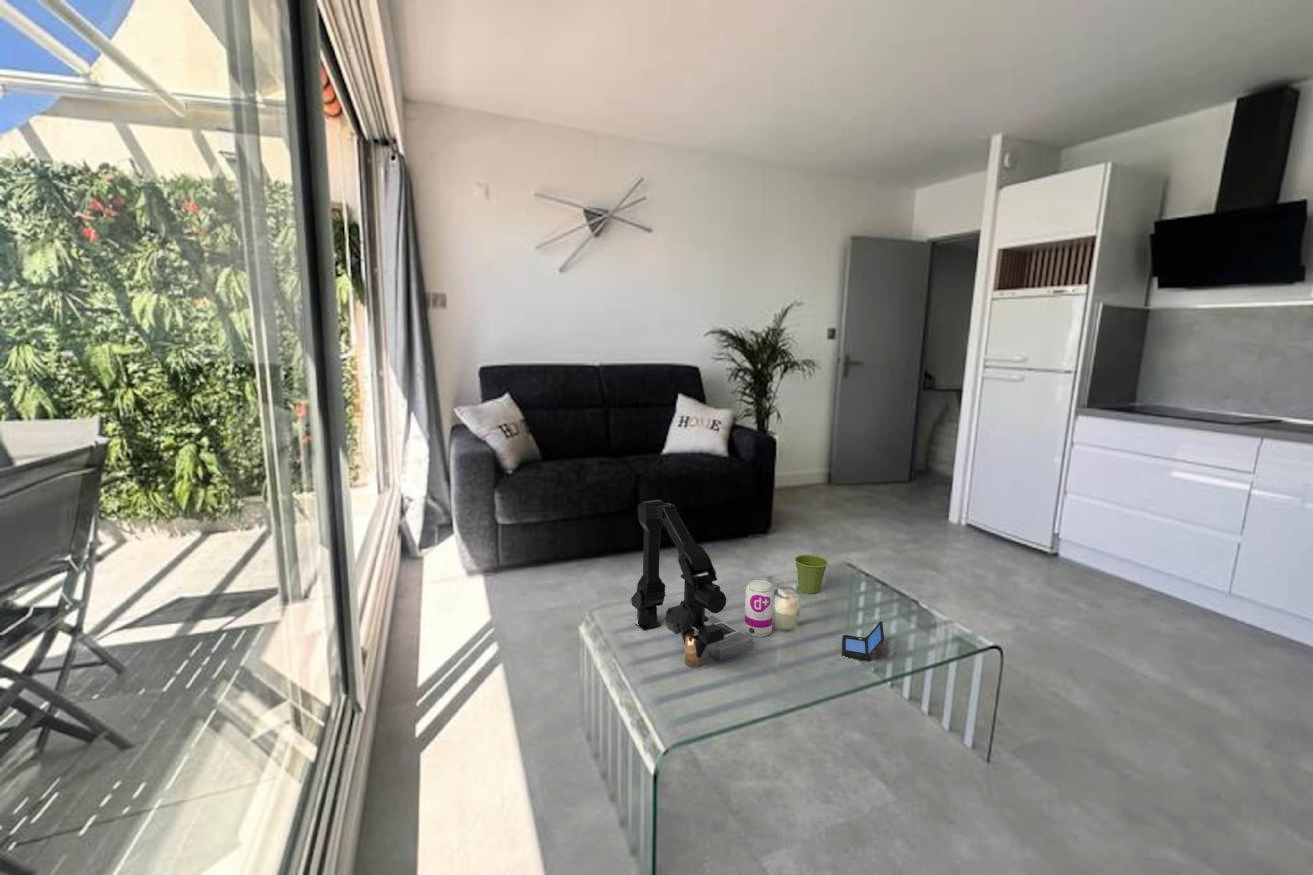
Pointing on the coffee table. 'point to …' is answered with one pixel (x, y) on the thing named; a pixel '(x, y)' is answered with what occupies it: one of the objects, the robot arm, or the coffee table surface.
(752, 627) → the supplement can
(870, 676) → the coffee table surface
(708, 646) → the grey socket plate
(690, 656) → the copper tin
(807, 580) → the plant pot
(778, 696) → the coffee table surface
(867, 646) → the handheld game console
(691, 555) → the robot arm
